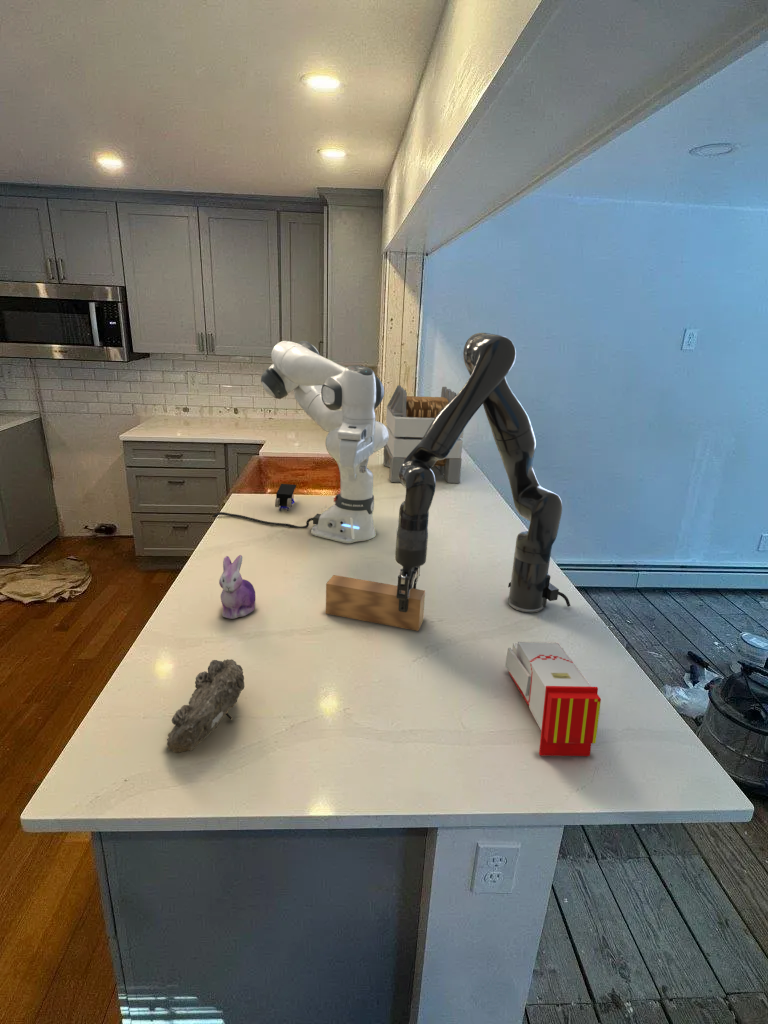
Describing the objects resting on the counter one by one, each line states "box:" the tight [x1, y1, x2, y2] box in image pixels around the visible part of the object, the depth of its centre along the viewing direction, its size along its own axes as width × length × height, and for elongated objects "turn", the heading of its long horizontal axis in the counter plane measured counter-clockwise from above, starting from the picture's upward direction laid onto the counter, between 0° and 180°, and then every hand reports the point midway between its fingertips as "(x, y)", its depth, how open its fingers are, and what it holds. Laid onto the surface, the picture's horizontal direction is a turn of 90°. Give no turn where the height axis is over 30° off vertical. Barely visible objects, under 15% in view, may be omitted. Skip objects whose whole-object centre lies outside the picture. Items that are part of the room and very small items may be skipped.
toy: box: [505, 641, 602, 757], centre depth 113 cm, size 12×13×30 cm
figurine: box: [218, 554, 256, 619], centre depth 143 cm, size 9×10×15 cm
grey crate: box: [383, 384, 465, 484], centre depth 268 cm, size 34×33×41 cm
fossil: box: [166, 658, 245, 754], centre depth 106 cm, size 22×10×15 cm
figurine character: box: [274, 483, 297, 512], centre depth 220 cm, size 7×8×15 cm
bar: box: [325, 574, 426, 632], centre depth 144 cm, size 24×5×9 cm, turn 74°
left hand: (357, 476), depth 159 cm, fingers open, 8 cm apart
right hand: (407, 603), depth 141 cm, fingers open, 8 cm apart
